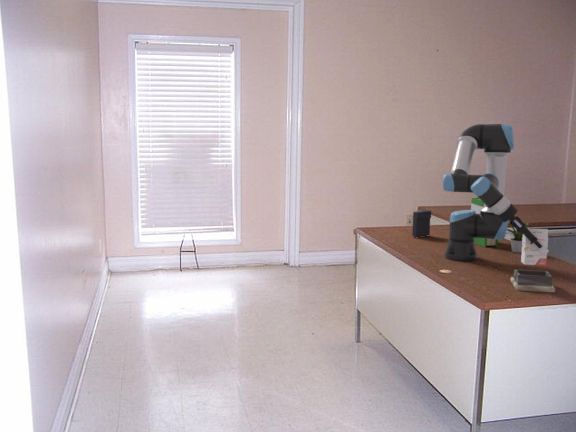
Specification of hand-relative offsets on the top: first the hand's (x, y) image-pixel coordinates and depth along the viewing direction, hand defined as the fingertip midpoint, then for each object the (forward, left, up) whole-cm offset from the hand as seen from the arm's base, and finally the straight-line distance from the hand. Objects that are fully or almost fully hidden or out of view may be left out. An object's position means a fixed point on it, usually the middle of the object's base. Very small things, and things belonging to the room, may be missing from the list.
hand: (544, 251), depth 216 cm
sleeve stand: (0, -4, -15) cm, 15 cm away
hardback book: (-78, -13, -15) cm, 81 cm away
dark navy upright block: (-89, -46, -15) cm, 101 cm away
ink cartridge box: (0, -4, -6) cm, 7 cm away
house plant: (-63, +2, -15) cm, 65 cm away
